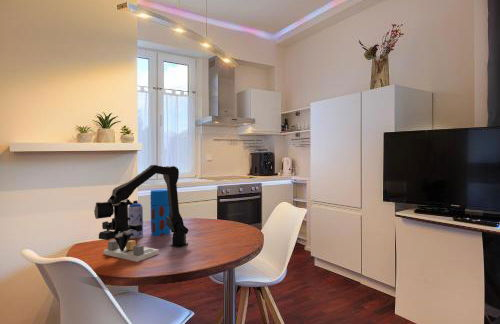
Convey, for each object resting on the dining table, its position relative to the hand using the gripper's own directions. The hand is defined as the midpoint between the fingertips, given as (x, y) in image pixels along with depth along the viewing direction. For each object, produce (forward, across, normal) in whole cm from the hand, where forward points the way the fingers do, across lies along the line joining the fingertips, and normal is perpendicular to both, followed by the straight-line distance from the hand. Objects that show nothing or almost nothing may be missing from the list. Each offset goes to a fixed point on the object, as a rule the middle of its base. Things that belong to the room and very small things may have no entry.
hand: (122, 250), depth 137 cm
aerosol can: (+3, -28, -24) cm, 37 cm away
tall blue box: (+3, -39, -16) cm, 42 cm away
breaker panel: (+3, -5, 0) cm, 6 cm away
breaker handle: (0, -5, 0) cm, 5 cm away
